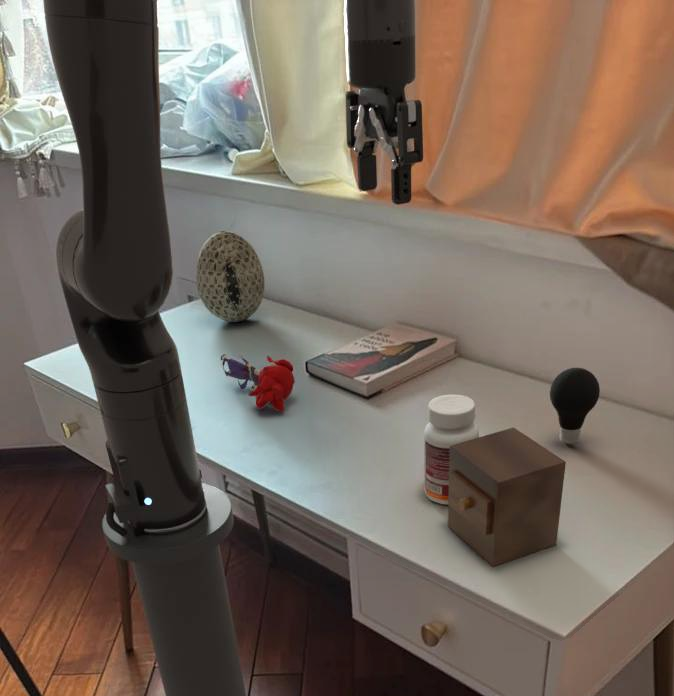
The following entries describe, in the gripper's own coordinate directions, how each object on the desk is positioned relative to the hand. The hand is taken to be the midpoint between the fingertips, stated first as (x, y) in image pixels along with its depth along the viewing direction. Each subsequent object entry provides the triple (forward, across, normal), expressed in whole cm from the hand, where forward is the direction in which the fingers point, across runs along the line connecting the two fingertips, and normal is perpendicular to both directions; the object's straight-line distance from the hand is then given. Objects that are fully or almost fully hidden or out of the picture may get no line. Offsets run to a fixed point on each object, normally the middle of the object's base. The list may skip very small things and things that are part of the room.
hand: (384, 196), depth 101 cm
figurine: (+28, -15, -14) cm, 35 cm away
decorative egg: (+28, -49, -5) cm, 57 cm away
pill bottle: (+28, +22, -4) cm, 36 cm away
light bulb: (+28, +20, +15) cm, 38 cm away
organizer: (+28, +33, -4) cm, 44 cm away
